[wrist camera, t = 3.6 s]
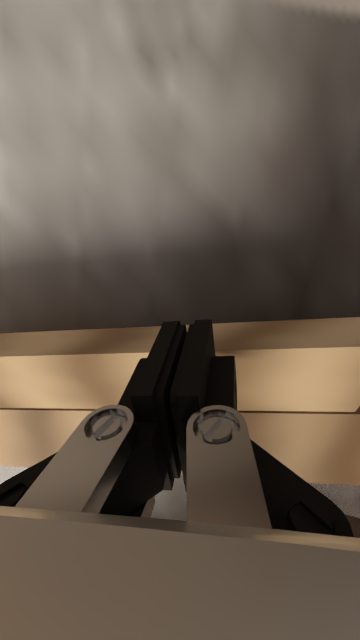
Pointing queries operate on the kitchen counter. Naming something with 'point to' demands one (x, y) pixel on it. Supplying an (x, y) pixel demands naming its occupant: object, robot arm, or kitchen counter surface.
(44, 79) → the kitchen counter surface
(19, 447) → the laid floor
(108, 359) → the plank
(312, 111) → the kitchen counter surface
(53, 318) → the kitchen counter surface
